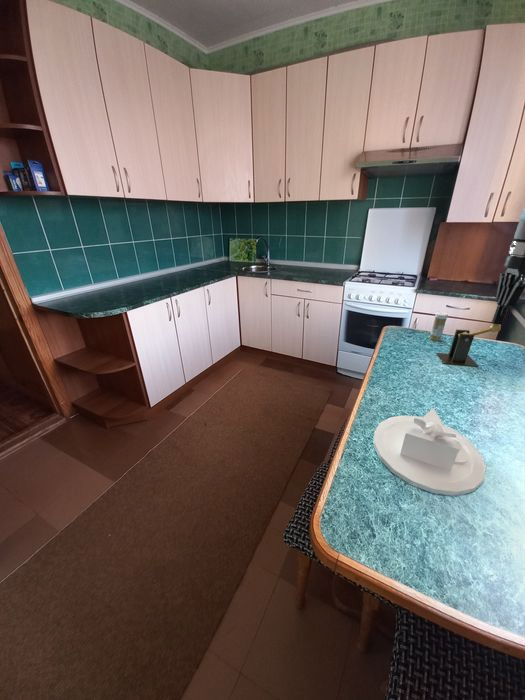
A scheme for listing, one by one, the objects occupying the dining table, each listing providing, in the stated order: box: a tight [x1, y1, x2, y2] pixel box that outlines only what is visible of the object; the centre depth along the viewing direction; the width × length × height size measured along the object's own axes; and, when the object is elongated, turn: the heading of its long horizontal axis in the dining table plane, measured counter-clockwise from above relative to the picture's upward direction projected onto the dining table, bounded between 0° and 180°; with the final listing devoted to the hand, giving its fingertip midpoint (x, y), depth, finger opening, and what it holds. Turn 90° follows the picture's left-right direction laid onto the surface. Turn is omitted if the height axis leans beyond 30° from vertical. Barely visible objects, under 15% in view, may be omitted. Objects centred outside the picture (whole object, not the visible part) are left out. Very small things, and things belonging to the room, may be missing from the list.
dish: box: [372, 407, 487, 497], centre depth 71 cm, size 25×25×11 cm
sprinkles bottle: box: [429, 311, 449, 342], centre depth 128 cm, size 5×5×14 cm
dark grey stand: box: [435, 329, 479, 368], centre depth 111 cm, size 12×9×13 cm
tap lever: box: [458, 323, 502, 337], centre depth 107 cm, size 13×3×3 cm, turn 77°
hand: (496, 323), depth 104 cm, fingers closed
